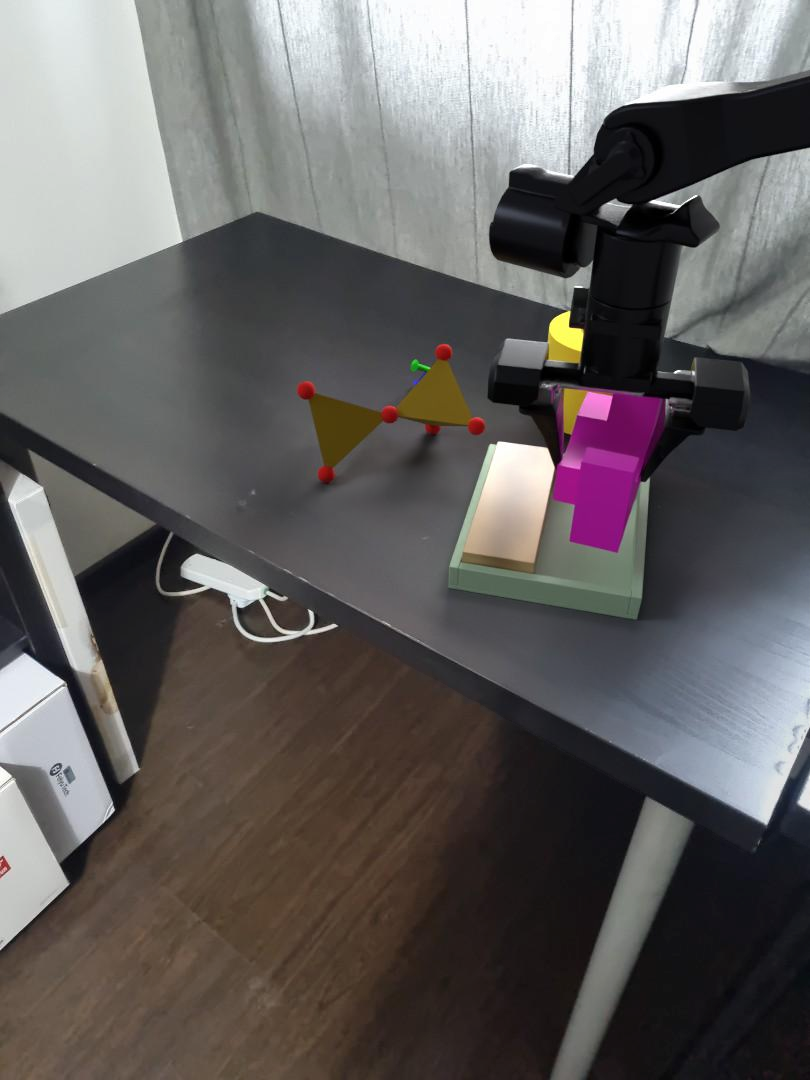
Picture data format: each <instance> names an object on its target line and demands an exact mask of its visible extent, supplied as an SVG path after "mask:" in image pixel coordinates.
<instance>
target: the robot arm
mask: <svg viewBox="0 0 810 1080" xmlns="http://www.w3.org/2000/svg"><path fill="white" fill-rule="evenodd" d="M806 149H810V69H807V70H804V71H801V72H796V73H792V74H789V75H784V76H780V77H777V78H774V79H770V80H759V81H746V82H745V81H724V80H723V81H722V80H721V81H706V82H705V81H704V82H693V83H692V82H691V83H678V84H671V85H667V86H665V87H662V88H660V89H658V90H656V91H652V92H651V93H649V94H646V95H644V96H642V97H639V98H638V99H634V100H632V101H630V102H628V103H625V104H623V105H621V106H619V107H618V108H617V107H616V108H615V109H613V110H612V111H611V112H610V113H608V115H606V116H605V117H604V119H603V121H602V124H601V126H600V127H599V129H598V131H597V132H596V135H595V141H594V145H593V154H592V155H591V156H590V157H589V159H588V160H587V161H586V162H585V163H584V165H582V166H581V168H580V169H579V170H578V171H577V172H576V174H575V175H570V174H566V173H560V172H556V171H555V172H554V171H550V170H547V169H545V168H543V167H542V166H539V165H535V164H530V163H524V164H522V165H520V166H518V167H515V168H513V169H511V170H510V171H509V173H508V187H507V188H506V190H505V191H504V192H503V194H502V195H501V197H500V199H499V201H498V203H497V206H496V208H495V211H494V214H493V218H492V221H491V222H490V224H489V228H488V242H489V243H488V244H489V248H490V252H491V254H492V256H493V257H494V258H495V259H496V260H497V261H500V262H503V263H507V264H510V265H515V266H517V267H521V268H525V269H528V270H533V271H536V272H541V273H544V274H548V275H552V276H555V277H559V278H563V279H569V278H572V277H573V276H575V275H576V274H577V272H579V270H581V268H586V267H588V266H590V264H591V263H592V264H591V273H590V274H591V275H590V281H589V286H579V285H578V286H577V285H575V286H573V292H572V299H571V304H570V310H569V311H570V318H569V327H570V328H575V329H584V334H583V341H582V349H581V357H580V363H573V362H563V361H553V360H548V359H549V349H550V347H549V343H548V342H545V341H537V340H535V341H534V340H524V339H517V338H516V339H514V338H505V339H504V341H502V342H500V344H499V345H498V347H497V349H496V352H495V354H494V357H493V360H492V363H491V366H490V368H489V373H488V379H487V396H486V397H487V399H488V400H489V401H490V402H492V403H493V404H500V405H509V406H518V413H519V414H520V415H522V416H529V417H530V418H531V420H532V421H533V423H534V424H535V427H536V428H537V430H538V432H540V435H541V436H542V438H543V441H544V443H545V445H546V448H548V451H549V454H550V456H551V459H552V462H553V464H554V467H555V470H556V471H557V465H558V464H559V463H560V461H562V458H563V453H564V454H565V433H564V388H566V389H575V390H584V391H593V392H602V393H611V394H620V395H630V396H639V397H652V398H661V399H662V402H661V406H660V410H659V415H658V419H657V423H656V426H655V429H654V432H653V434H652V437H651V440H650V443H649V446H648V449H647V452H646V455H645V458H644V463H643V468H642V473H641V482H646V481H647V480H648V479H649V478H650V479H651V476H653V474H654V473H655V471H657V469H658V468H659V466H660V465H661V464H662V463H663V462H664V460H666V459H667V457H668V456H669V455H670V454H671V453H672V452H673V451H674V450H675V449H676V448H677V447H679V446H680V445H681V444H682V443H683V442H685V440H686V439H688V438H689V437H690V436H702V435H704V434H705V431H706V429H715V430H723V431H724V430H725V431H730V432H731V431H733V432H737V431H740V430H741V429H744V426H745V423H746V420H747V416H748V413H749V409H750V402H751V390H750V381H749V371H748V369H747V368H746V366H745V365H744V363H743V362H742V361H736V360H726V359H715V358H704V357H695V356H694V358H693V360H692V363H691V367H690V370H685V369H679V370H676V371H674V372H668V371H659V367H660V362H661V356H662V352H663V347H664V342H665V338H666V337H665V336H666V331H667V325H668V320H669V316H670V311H671V305H672V302H673V297H674V290H675V285H676V280H677V276H678V271H679V267H680V266H679V265H680V260H681V255H682V250H683V247H687V248H692V249H695V248H698V247H700V245H702V244H703V243H704V242H706V241H708V239H710V238H711V237H712V236H714V235H715V234H716V233H718V232H719V231H720V228H721V224H720V222H719V221H718V220H717V218H716V217H715V216H714V215H713V214H712V212H710V211H709V209H708V208H706V206H705V204H704V202H703V198H702V197H701V196H700V195H698V194H697V195H694V196H692V197H691V198H689V199H688V200H686V201H684V202H683V203H682V204H681V205H678V204H674V203H673V204H672V203H668V202H662V201H658V199H661V198H663V197H666V196H668V195H671V194H673V193H676V192H678V191H681V190H683V189H686V188H688V187H691V186H693V185H695V184H698V183H700V182H702V181H705V180H707V179H709V178H711V177H714V176H715V175H718V174H720V173H723V172H725V171H728V170H730V169H732V168H734V167H735V168H736V167H737V166H740V165H742V164H744V163H747V162H749V161H752V160H756V159H757V160H758V159H762V158H767V157H772V156H776V155H782V154H787V153H792V152H796V151H801V150H806ZM614 200H616V201H617V202H618V203H622V204H625V205H620V204H616V203H611V202H612V201H614ZM627 205H630V206H627Z"/></svg>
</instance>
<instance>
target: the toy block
mask: <svg viewBox="0 0 810 1080" xmlns="http://www.w3.org/2000/svg"><path fill="white" fill-rule="evenodd" d="M662 402H663V399H661V398H652V397H639V396H630V395H620V394H613V396H608V395H602V394H597V393H591V392H588V393H587V395H586V397H585V399H584V401H583V404H582V406H581V408H580V410H579V412H578V414H577V418H576V421H575V425H574V428H573V432H572V435H570V438H569V441H568V443H567V447H566V449H565V451H564V456H563V458H562V461H560V463H559V464H558V465H557V472H556V479H555V487H554V495H553V500H555V501H560V502H564V503H569V504H573V505H575V506H574V513H573V520H572V526H571V533H570V539H569V542H574V543H578V544H582V545H586V546H590V547H594V548H599V549H603V550H607V551H611V552H615V553H618V550H619V547H620V544H621V541H622V538H623V535H624V532H625V529H626V526H627V522H628V519H629V516H630V513H631V510H632V507H633V504H634V501H635V498H636V494H637V491H638V488H639V485H640V482H641V473H642V468H643V463H644V458H645V455H646V452H647V449H648V446H649V443H650V440H651V437H652V434H653V432H654V429H655V426H656V423H657V420H658V417H659V414H660V410H661V406H662Z"/></svg>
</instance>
